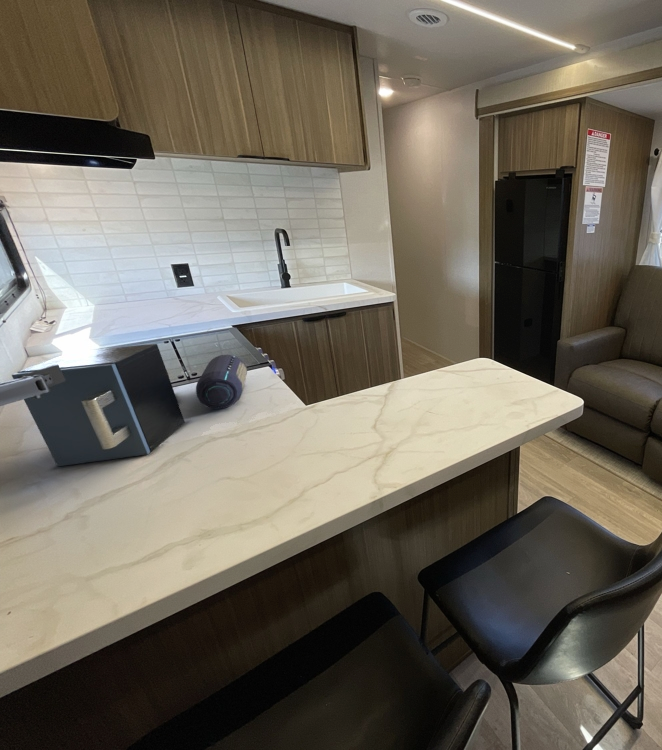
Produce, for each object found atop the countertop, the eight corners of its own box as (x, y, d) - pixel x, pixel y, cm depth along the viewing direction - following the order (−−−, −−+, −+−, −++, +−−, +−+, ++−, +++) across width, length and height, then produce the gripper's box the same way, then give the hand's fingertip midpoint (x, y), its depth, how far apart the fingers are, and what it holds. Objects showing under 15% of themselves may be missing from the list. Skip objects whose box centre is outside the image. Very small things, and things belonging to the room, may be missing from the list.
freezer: (151, 451, 85) (115, 362, 78) (62, 463, 82) (16, 371, 75) (185, 422, 97) (157, 343, 91) (109, 432, 95) (74, 351, 88)
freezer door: (130, 469, 78) (90, 374, 71) (33, 482, 75) (-19, 385, 68) (150, 451, 84) (115, 363, 77) (61, 463, 81) (16, 373, 75)
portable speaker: (245, 408, 104) (235, 372, 101) (199, 417, 100) (187, 380, 97) (252, 379, 125) (243, 348, 122) (214, 386, 121) (204, 354, 118)
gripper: (-314, 499, 40) (-85, 420, 60) (-7, 445, 46) (111, 388, 65) (-372, 432, 38) (-114, 372, 58) (-42, 383, 43) (91, 344, 63)
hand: (6, 381), depth 62 cm, fingers open, 13 cm apart
